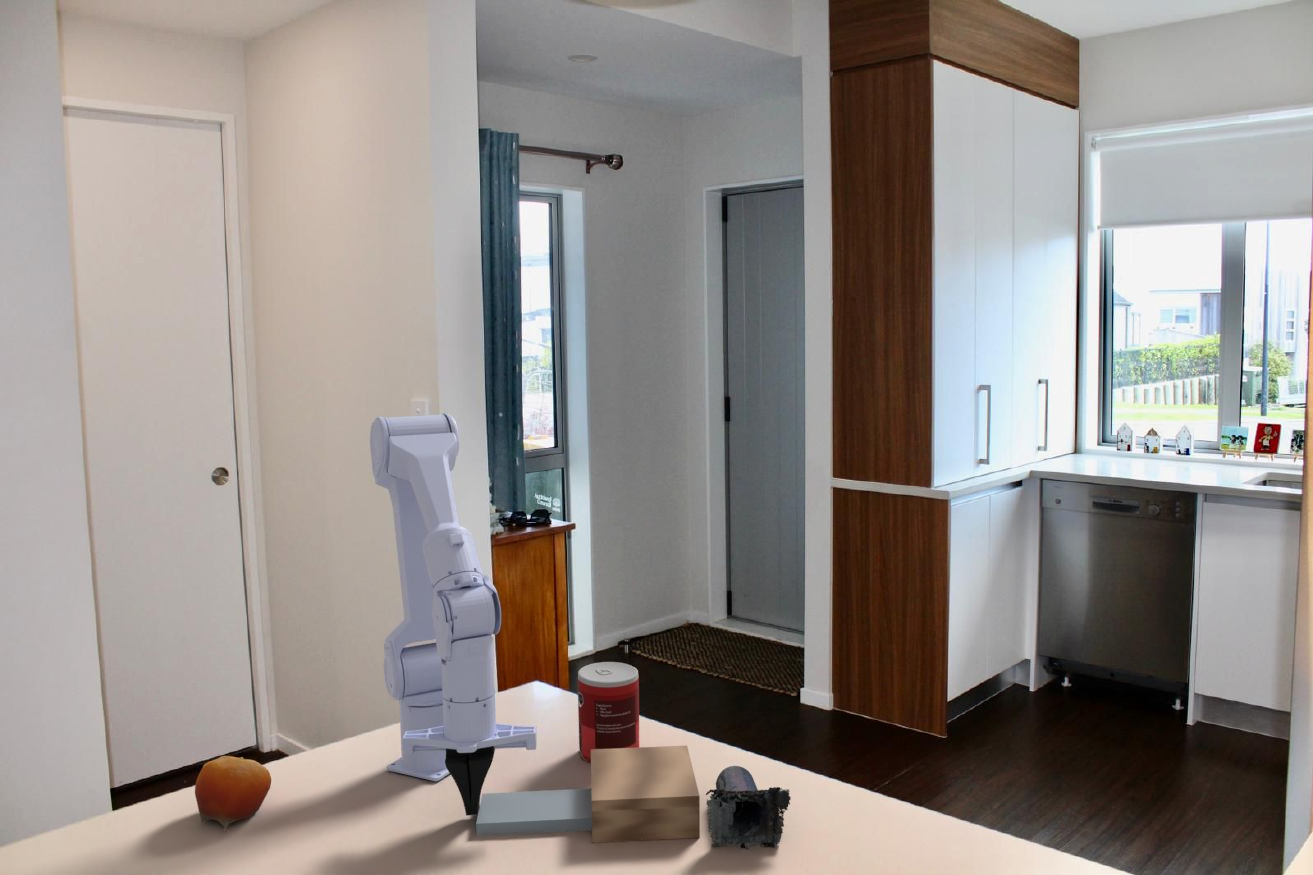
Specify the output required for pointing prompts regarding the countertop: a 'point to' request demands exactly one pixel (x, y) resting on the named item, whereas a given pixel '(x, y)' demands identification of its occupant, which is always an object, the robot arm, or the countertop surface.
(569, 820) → the tile
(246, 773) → the fruit
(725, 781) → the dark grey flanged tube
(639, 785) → the brown wooden block
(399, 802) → the countertop surface
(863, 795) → the countertop surface
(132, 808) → the countertop surface
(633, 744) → the canned food
